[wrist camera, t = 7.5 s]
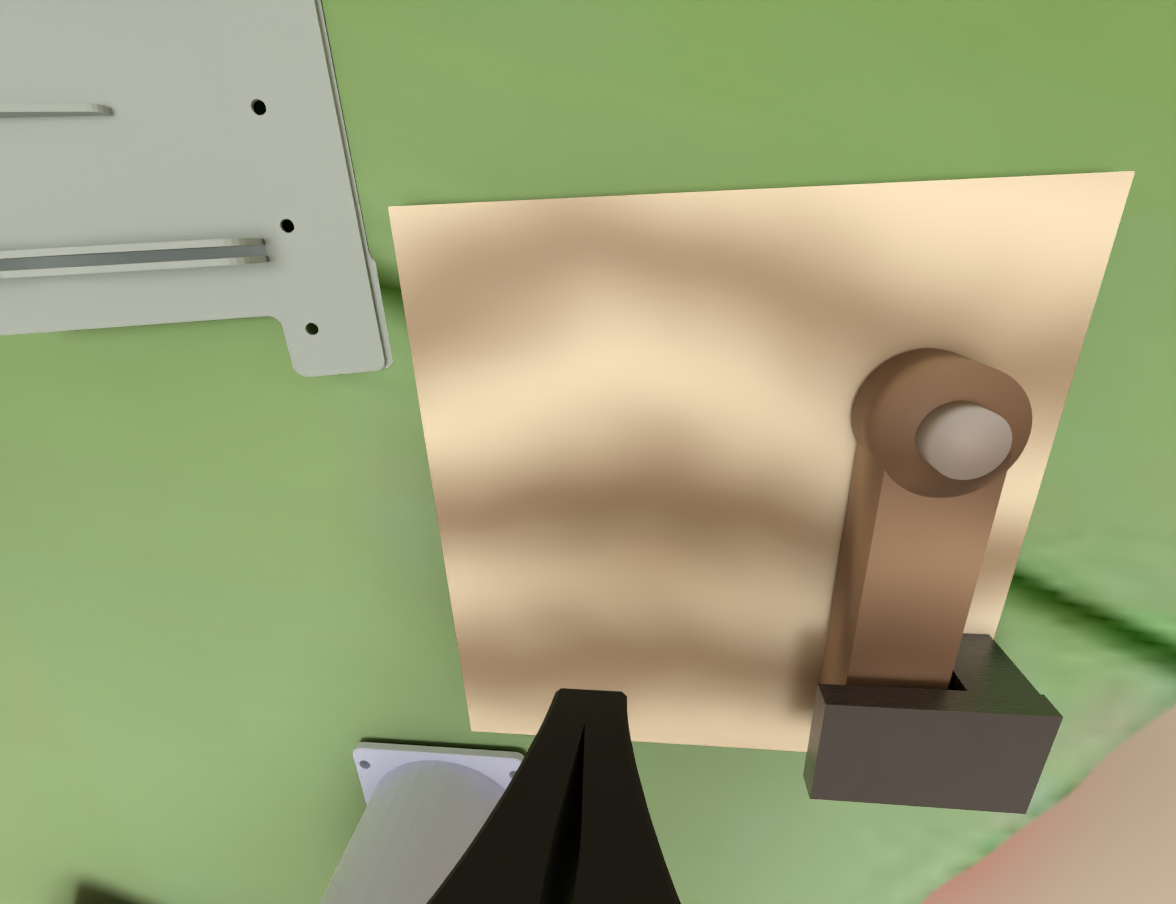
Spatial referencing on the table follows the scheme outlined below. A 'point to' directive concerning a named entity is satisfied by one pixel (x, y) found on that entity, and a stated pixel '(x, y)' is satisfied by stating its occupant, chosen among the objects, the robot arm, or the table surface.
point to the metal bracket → (182, 175)
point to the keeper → (935, 738)
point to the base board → (709, 420)
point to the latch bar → (919, 515)
